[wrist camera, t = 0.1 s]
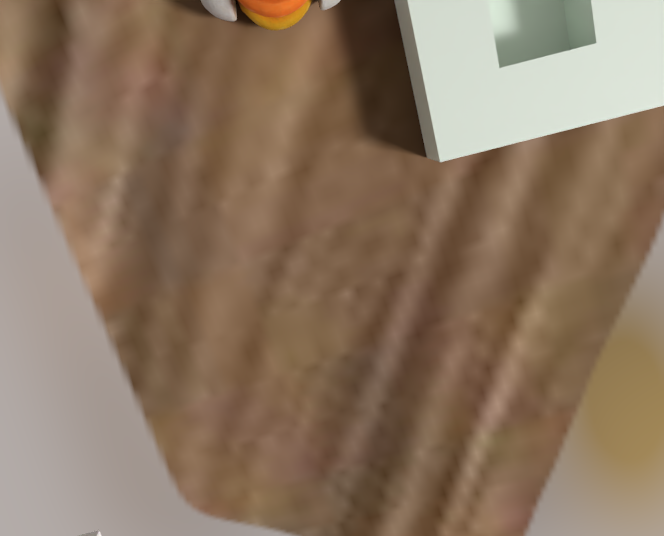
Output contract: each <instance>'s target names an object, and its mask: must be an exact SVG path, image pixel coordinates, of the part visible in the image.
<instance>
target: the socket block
mask: <svg viewBox="0 0 664 536" xmlns="http://www.w3.org/2000/svg"><path fill="white" fill-rule="evenodd" d="M394 1H395V6H396V11H397V16H398V21H399V25H400V30H401V35H402V40H403V45H404V50H405V54H406V59H407V64H408V69H409V74H410V78H411V83H412V88H413V93H414V98H415V103H416V107H417V112H418V117H419V122H420V127H421V132H422V136H423V141H424V146H425V151H426V156H427V158H429V159H432V160H435V161H438V162H443V161H447V160H451V159H455V158H459V157H462V156H466V155H470V154H474V153H478V152H482V151H486V150H490V149H494V148H498V147H502V146H506V145H510V144H514V143H518V142H522V141H526V140H529V139H533V138H537V137H541V136H545V135H549V134H553V133H557V132H561V131H565V130H569V129H573V128H577V127H581V126H585V125H589V124H593V123H596V122H600V121H604V120H608V119H612V118H616V117H620V116H624V115H628V114H632V113H636V112H640V111H644V110H648V109H652V108H656V107H660V106H663V105H664V0H394Z"/></svg>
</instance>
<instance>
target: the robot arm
mask: <svg viewBox="0 0 664 536" xmlns="http://www.w3.org/2000/svg"><path fill="white" fill-rule="evenodd" d="M79 536H101V534H100V531H96V532H91V533H88V534H83V535H79Z"/></svg>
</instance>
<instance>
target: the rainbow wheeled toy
mask: <svg viewBox="0 0 664 536" xmlns="http://www.w3.org/2000/svg"><path fill="white" fill-rule="evenodd" d="M312 1H313V0H237V2H238V3H239V5H240V8H241V10H242V11H243V12H244V13H245V14H246V15H247V16H248V17H249V18H250V19H251V20H252V21H253V22H254V23H256V24H257V25H259V26H261V27H263V28H265V29H269V30H283V29H286V28H289V27H291V26H293V25H294V24H296V23H297V22H298V21H299V20H300V19H301V18H302V17H303V16H304V15H305V13H306V12H307V10H308V9H309V7H310V5H311V3H312ZM340 1H341V0H318V3H319V7H320V9H321V10H326V9H329V8H331V7H333V6H335V5H336V4H337V3H339V2H340ZM201 2H202V4H203V6H204V7H205V8H206V9H207V10H208V11H209V12H210V13H211V14H213V15H214V16H216V17H218V18H220V19H223V20H226V21H236V19H237V8H236V0H201Z"/></svg>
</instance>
